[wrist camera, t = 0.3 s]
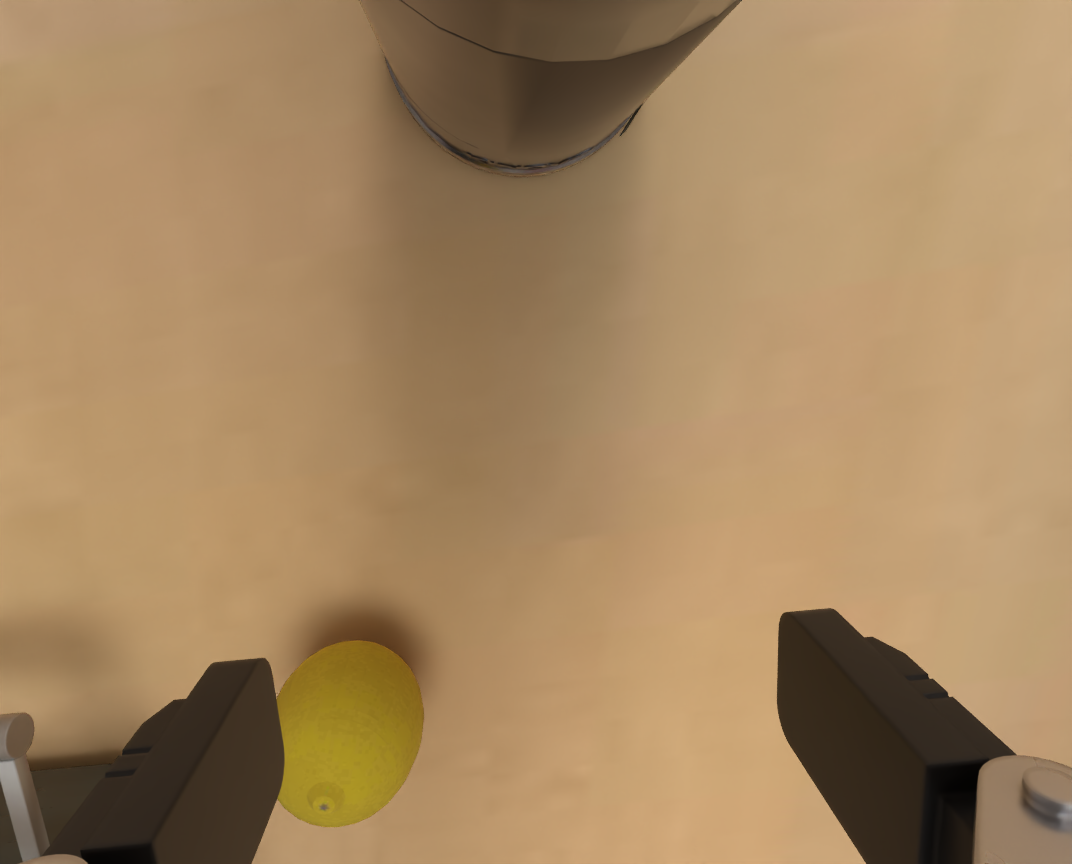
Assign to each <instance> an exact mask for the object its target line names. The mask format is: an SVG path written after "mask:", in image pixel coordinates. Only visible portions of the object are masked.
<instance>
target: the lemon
mask: <svg viewBox="0 0 1072 864" xmlns="http://www.w3.org/2000/svg"><path fill="white" fill-rule="evenodd" d="M276 700H277V706H278V713H279V719H280V725H281V731H282V737H283V743H284V754H285V763H284V775H283V781H282V786H281V789H280V792H279V795H278V798H277V799H278V800H279V802H280V803H281V804H282V806H283V807H284V808H285V809H286V810H288V811H289V812H290V813H292V814H293V815H294V816H295V817H297V818H298V819H300V820H303V821H305V822H307V823H309V824H312V825H317V826H322V827H341V826H346V825H350V824H355V823H357V822H360V821H362V820H364V819H366V818H369V817H370V816H372V815H373V814H375V813H376V812H377V811H379V810H380V809H381V808H383V807H384V806H385V805H386V804H388V802H389V801H390V800H391V799H392V798H393V796H394V795H395V794H396V793H397V791H398V790H399V789H400V788H401V786H402V785H403V783H404V782H405V780H406V778H407V776H408V774H409V772H410V770H411V767H412V765H413V763H414V760H415V758H416V756H417V753H418V750H419V747H420V743H421V738H422V729H423V720H424V710H423V703H422V698H421V692H420V688H419V685H418V683H417V681H416V679H415V676H414V674H413V672H412V670H411V669H410V667H409V666H408V665H407V664H406V663H405V662H404V661H403V659H402V658H401V657H400V656H398V655H397V654H395V653H394V652H393V651H391V650H390V649H388V648H387V647H384V646H382V645H379V644H377V643H374V642H368V641H361V640H355V641H344V642H339V643H336V644H333V645H330V646H327V647H325V648H323V649H321V650H320V651H318V652H316V653H315V654H313V655H311V656H310V657H308V658H307V659H306V660H305V661H304V662H303V663H302V664H301V665H300V666H299V667H298V668H297V669H296V670H295V671H294V672H293V673H292V674H291V676H290V677H289V678H288V679H287V681H286V682H285V684H284V686H283V688H282V690H281V691H280V693H279V695H278V697H277V699H276Z"/></svg>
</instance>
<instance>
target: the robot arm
mask: <svg viewBox="0 0 1072 864" xmlns="http://www.w3.org/2000/svg"><path fill="white" fill-rule="evenodd" d="M359 1H360V3H361V5H362V8H363V10H364V12H365V14H366V16H367V18H368V20H369V23H370V25H371V27H372V29H373V31H374V33H375V35H376V38H377V40H378V42H379V44H380V46H381V49H382V51H383V53H384V55H385V59H386V62H387V65H388V69H389V72H390V74H391V77H392V79H393V81H394V84H395V86H396V88H397V90H398V92H399V95H400V96H401V98H402V100H403V102H404V104H405V106H406V108H407V109H408V111H409V112H410V114H411V115H412V117H413V118H414V120H415V121H416V122H417V123H418V125H419V126H420V127H421V128H422V129H423V131H424V132H425V133H426V134H427V135H428V136H429V137H430V138H431V139H432V140H433V141H434V142H435V143H437V144H438V145H439V146H440V147H441V148H442V149H444V150H445V151H447V152H448V153H449V154H451V155H452V156H454V157H455V158H457V159H459V160H461V161H463V162H464V163H466V164H468V165H471V166H473V167H475V168H478V169H481V170H484V171H487V172H490V173H494V174H499V175H505V176H514V177H530V176H540V175H545V174H550V173H554V172H557V171H560V170H564V169H566V168H569V167H571V166H573V165H575V164H578V163H579V162H581V161H583V160H585V159H586V158H588V157H590V156H591V155H592V154H594V153H595V152H597V151H598V150H599V149H600V148H602V147H603V146H604V145H605V144H606V143H607V142H608V141H609V140H610V139H611V138H612V137H613V136H614V135H615V134H616V133H617V132H618V131H619V130H620V129H621V128H622V127H623V126H624V124H625V123H626V122H627V121H628V119H629V118H630V117H631V115H632V114H633V115H632V117H631V118H630V120H629V122H628V123H627V125H626V126H625V128H624V130H623V131H622V133H621V134H620V136H621V135H622V134H623V133H624V132H625V131H626V130H627V128H628V127H629V125H630V123H631V122H632V120H633V118H634V117H635V115H636V114H637V112H638V110H639V109H640V107H641V106H642V104H643V102H644V101H645V100H646V99H647V98H648V97H649V96H650V95H651V94H652V93H653V92H654V91H655V90H656V89H657V88H658V87H659V85H660V84H661V83H662V82H663V81H664V80H665V79H666V78H667V77H668V76H669V75H670V74H671V73H672V72H673V71H674V70H675V69H676V68H677V67H678V66H679V65H680V64H681V63H682V62H683V61H684V60H685V59H686V58H687V57H688V56H689V54H690V53H691V52H692V51H693V50H694V49H695V48H696V47H697V46H698V45H699V44H700V43H701V42H702V41H703V40H704V39H705V38H706V37H707V36H708V35H709V34H710V33H711V32H712V31H713V30H714V29H715V28H716V27H717V26H718V24H719V23H720V22H721V21H722V20H723V19H724V18H725V17H726V16H727V15H728V14H729V13H730V12H731V11H732V10H733V9H734V8H735V7H736V6H737V5H738V4H739V3H740V2H741V1H742V0H359ZM634 111H635V112H634ZM633 112H634V113H633ZM620 136H619V137H620ZM777 707H778V714H779V719H780V723H781V726H782V729H783V732H784V735H785V737H786V739H787V741H788V743H789V745H790V746H791V748H792V749H793V751H794V752H795V754H796V755H797V757H798V759H799V760H800V762H801V763H802V765H803V766H804V768H805V769H806V771H807V773H808V774H809V776H810V777H811V779H812V780H813V782H814V783H815V785H816V786H817V788H818V790H819V791H820V793H821V794H822V796H823V797H824V799H825V800H826V802H827V804H828V805H829V807H830V808H831V810H832V811H833V813H834V814H835V816H836V817H837V819H838V821H839V822H840V824H841V825H842V827H843V828H844V830H845V831H846V833H847V835H848V836H849V838H850V839H851V841H852V842H853V844H854V845H855V847H856V848H857V850H858V852H859V853H860V855H861V856H862V858H863V859H864V861H865V862H866V864H1072V768H1071V767H1068V766H1066V765H1063V764H1060V763H1057V762H1054V761H1050V760H1046V759H1042V758H1037V757H1030V756H1019V755H1016V754H1015V753H1014V752H1013V751H1012V750H1011V749H1010V748H1009V747H1008V746H1006V745H1005V744H1004V743H1003V742H1002V741H1001V740H1000V739H999V738H998V737H996V736H995V735H994V734H993V733H992V732H991V731H990V730H989V729H988V728H987V727H985V726H984V725H983V724H982V723H981V722H980V721H979V720H978V719H977V718H976V717H974V716H973V715H972V714H971V713H970V712H969V711H968V710H967V709H966V708H965V707H963V706H962V705H961V704H960V703H959V702H958V701H957V700H956V699H955V698H953V697H949V696H948V692H947V691H946V690H945V689H944V688H942V687H941V686H940V685H939V684H938V683H937V682H936V681H935V680H934V679H929V677H928V674H927V673H926V672H925V671H924V670H923V669H921V668H920V667H919V666H918V665H917V664H916V663H915V662H914V661H913V660H912V659H910V658H909V657H908V656H907V655H906V654H905V653H903V652H901V651H899V650H897V649H895V648H893V647H891V646H889V645H887V644H885V643H883V642H882V641H880V640H878V639H876V638H874V637H865V638H864V637H863V636H862V635H861V634H860V633H859V632H858V631H857V630H856V629H855V628H854V627H853V626H851V625H850V624H849V623H848V622H847V621H846V620H845V619H844V618H843V617H842V616H841V615H840V614H839V613H838V612H837V611H836V610H834V609H831V608H828V609H816V610H805V611H794V612H785V613H783V614H782V616H781V618H780V622H779V636H778V678H777ZM284 763H285V754H284V743H283V737H282V731H281V725H280V719H279V713H278V706H277V700H276V694H275V688H274V682H273V676H272V671H271V667H270V664H269V662H268V661H267V660H266V659H265V658H257V659H246V660H235V661H224V662H215V663H212V664H211V665H210V666H209V667H208V669H207V670H206V671H205V673H204V674H203V676H202V677H201V678H200V680H199V681H198V683H197V684H196V686H195V687H194V688H193V690H192V691H191V693H190V694H189V696H188V697H187V698H186V699H180V700H173V701H172V702H171V703H169V704H168V705H167V706H165V707H164V708H163V709H161V710H160V711H159V712H157V713H156V714H155V715H153V716H152V717H151V718H149V719H148V720H147V721H145V722H144V723H143V724H142V725H141V726H140V728H139V729H138V730H137V732H136V733H135V734H134V736H133V737H132V738H131V740H130V741H129V742H128V743H127V745H126V746H125V747H124V749H123V750H122V755H119V756H118V757H117V758H116V759H115V761H114V762H113V763H112V765H111V766H110V767H109V768H108V770H107V771H106V772H105V778H101V779H100V780H99V782H98V783H97V784H96V786H95V787H94V788H93V790H92V791H91V792H90V793H89V795H88V796H87V797H86V799H85V800H84V801H83V803H82V804H81V805H80V807H79V808H78V809H77V811H76V812H75V813H74V814H73V816H72V817H71V818H70V820H69V821H68V822H67V824H66V825H65V826H64V828H63V829H62V830H61V832H60V833H59V834H58V836H57V837H56V838H55V839H54V841H53V842H52V843H51V845H50V846H49V847H48V849H47V850H46V851H45V853H44V854H43V855H42V857H38V858H34V859H31V860H28V861H25V862H22V863H19V864H251V863H252V861H253V858H254V856H255V853H256V851H257V848H258V846H259V843H260V841H261V838H262V836H263V833H264V831H265V828H266V826H267V823H268V820H269V818H270V815H271V813H272V810H273V808H274V805H275V803H276V800H277V798H278V795H279V792H280V789H281V786H282V781H283V775H284Z"/></svg>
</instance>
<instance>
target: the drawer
mask: <svg viewBox="0 0 1072 864" xmlns="http://www.w3.org/2000/svg"><path fill="white" fill-rule="evenodd" d="M33 736H34V722H33V719H32V717H31V716H30V715H29V714H27V713H12V714H1V715H0V864H19V863H22V862H25V861H28V860H31V859H34V858H38V857H42V855H43V854H44V853H45V851H46V850H47V849H48V847H49V846H50V845H51V843H52V842H53V841H54V839H55V838H56V837H57V836H58V834H59V833H60V832H61V830H62V829H63V828H64V826H65V825H66V824H67V822H68V821H69V820H70V818H71V817H72V816H73V814H74V813H75V812H76V811H77V809H78V808H79V807H80V805H81V804H82V803H83V801H84V800H85V799H86V797H87V796H88V795H89V793H90V792H91V791H92V790H93V788H94V787H95V786H96V784H97V783H98V782H99V780H100V779H101V778H105V772H106V771H107V770H108V768H109V767H110V766H111V765H112V764H104V765H93V766H83V767H72V768H61V769H51V770H40V771H30V768H29V764H28V760H27V756H26V752H27V750H28V749H29V747H30V745H31V743H32V740H33Z"/></svg>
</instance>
